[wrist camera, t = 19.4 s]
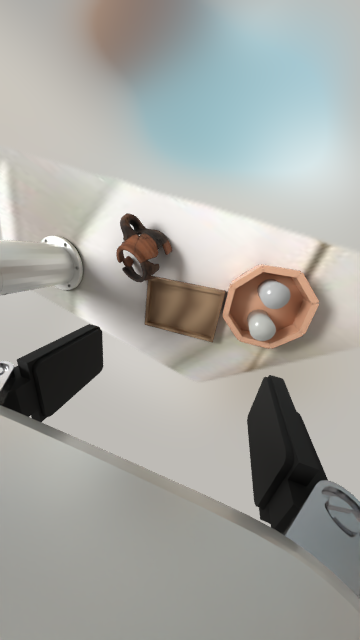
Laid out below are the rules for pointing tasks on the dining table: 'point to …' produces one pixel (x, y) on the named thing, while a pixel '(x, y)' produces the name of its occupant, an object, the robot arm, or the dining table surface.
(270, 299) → the stone
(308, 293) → the bowl
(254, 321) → the stone
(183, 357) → the dining table surface
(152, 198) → the dining table surface
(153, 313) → the tray
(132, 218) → the brown piece
